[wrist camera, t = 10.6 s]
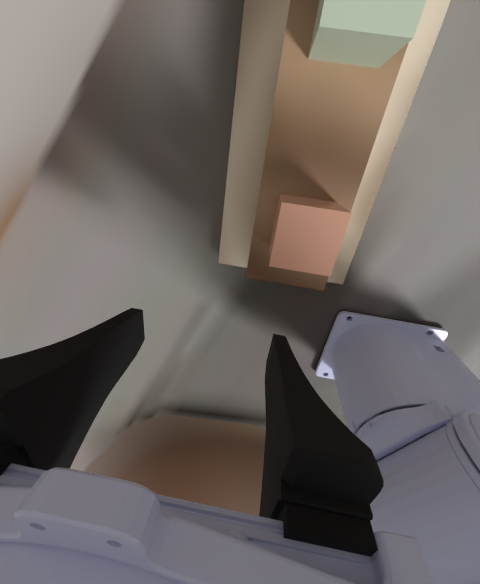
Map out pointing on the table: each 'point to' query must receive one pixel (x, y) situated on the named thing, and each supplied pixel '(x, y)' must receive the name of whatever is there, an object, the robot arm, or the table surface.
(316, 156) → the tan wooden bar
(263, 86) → the dock
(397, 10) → the pale green cube
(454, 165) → the table surface
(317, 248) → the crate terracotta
